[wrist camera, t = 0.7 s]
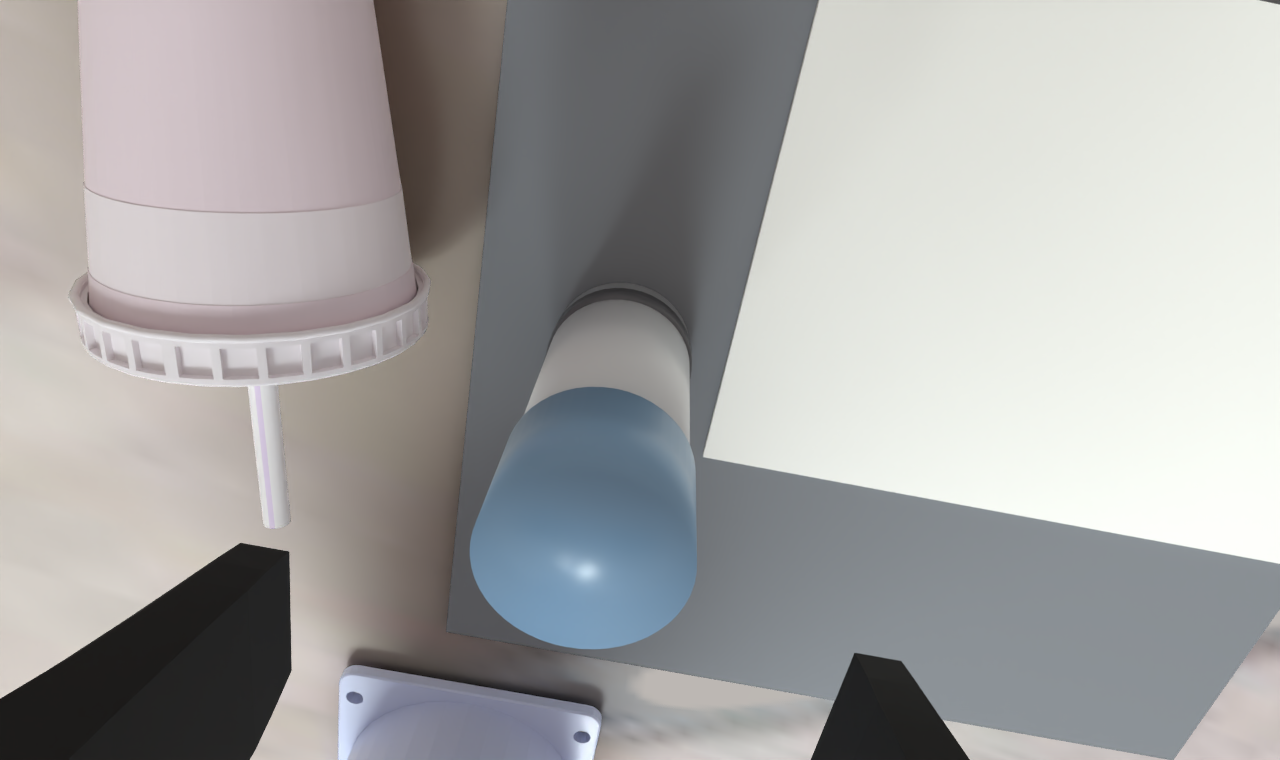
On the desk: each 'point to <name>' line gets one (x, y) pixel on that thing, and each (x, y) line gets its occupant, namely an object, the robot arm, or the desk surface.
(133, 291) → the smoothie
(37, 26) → the desk surface
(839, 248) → the paper
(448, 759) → the robot arm
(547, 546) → the marker
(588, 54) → the desk mat
